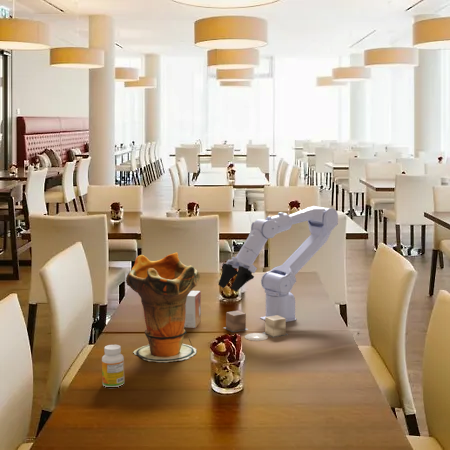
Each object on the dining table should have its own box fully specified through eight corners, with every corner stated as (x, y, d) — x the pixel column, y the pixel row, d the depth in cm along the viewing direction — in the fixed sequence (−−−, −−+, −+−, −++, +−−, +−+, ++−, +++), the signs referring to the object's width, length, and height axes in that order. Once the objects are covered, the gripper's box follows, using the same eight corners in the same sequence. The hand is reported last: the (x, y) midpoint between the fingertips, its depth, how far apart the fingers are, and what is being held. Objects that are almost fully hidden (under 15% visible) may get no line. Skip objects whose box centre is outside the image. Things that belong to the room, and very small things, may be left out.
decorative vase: (146, 370, 181) (143, 264, 179) (118, 350, 202) (114, 254, 199) (218, 358, 191) (215, 257, 188) (183, 340, 211) (181, 248, 209)
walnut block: (238, 325, 223) (238, 310, 222) (245, 329, 219) (245, 313, 218) (226, 327, 220) (226, 312, 220) (233, 331, 216) (233, 315, 216)
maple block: (277, 330, 217) (277, 315, 216) (285, 334, 213) (285, 318, 212) (265, 332, 215) (265, 317, 214) (273, 336, 211) (273, 320, 210)
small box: (195, 328, 220) (195, 296, 219) (178, 327, 221) (178, 295, 220) (201, 321, 228) (201, 290, 227) (184, 320, 229) (184, 289, 228)
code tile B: (277, 330, 218) (277, 329, 218) (288, 335, 213) (288, 334, 213) (261, 333, 215) (261, 332, 215) (272, 338, 210) (272, 337, 210)
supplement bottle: (103, 381, 175) (102, 343, 174) (125, 380, 175) (124, 343, 174) (101, 389, 170) (100, 350, 168) (123, 388, 170) (122, 350, 169)
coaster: (259, 333, 215) (259, 331, 215) (272, 339, 209) (272, 337, 209) (240, 336, 212) (240, 335, 212) (252, 342, 206) (252, 341, 206)
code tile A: (238, 325, 224) (238, 324, 224) (248, 330, 219) (248, 329, 219) (222, 328, 221) (222, 327, 221) (232, 332, 216) (232, 332, 215)
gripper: (228, 242, 225) (206, 278, 221) (253, 247, 212) (230, 284, 209) (243, 254, 228) (221, 289, 224) (268, 260, 215) (246, 297, 212)
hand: (227, 288), depth 217 cm, fingers open, 7 cm apart
